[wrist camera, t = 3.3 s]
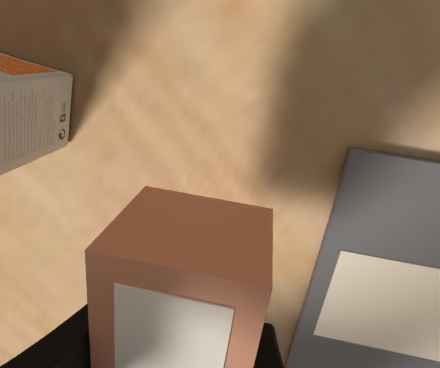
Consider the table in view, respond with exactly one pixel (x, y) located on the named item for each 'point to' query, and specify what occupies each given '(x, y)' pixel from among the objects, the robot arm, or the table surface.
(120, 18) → the table surface
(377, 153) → the charcoal mat
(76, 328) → the robot arm
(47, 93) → the skincare box
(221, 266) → the pink box with label
